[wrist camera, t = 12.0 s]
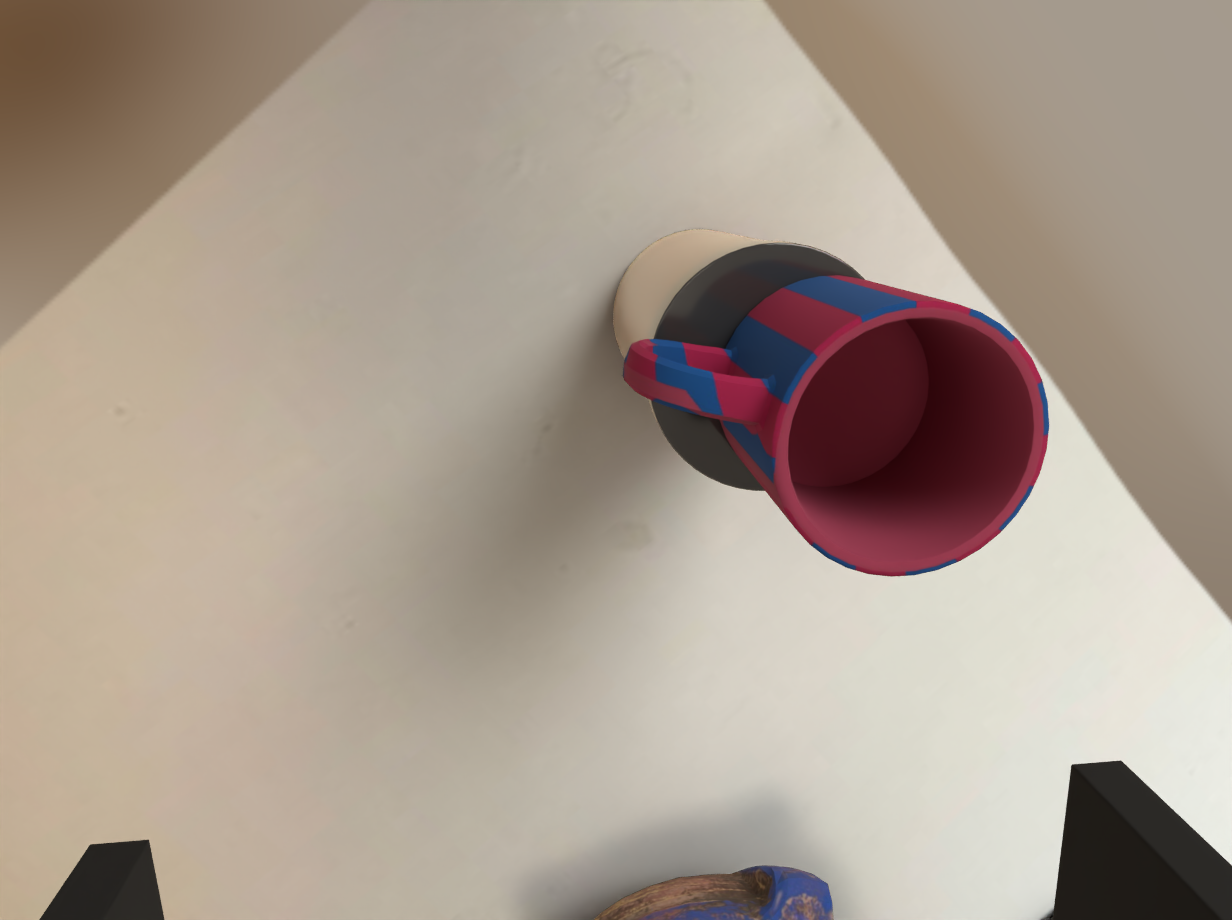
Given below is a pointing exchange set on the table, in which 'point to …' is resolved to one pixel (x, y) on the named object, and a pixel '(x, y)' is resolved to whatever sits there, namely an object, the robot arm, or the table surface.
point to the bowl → (730, 897)
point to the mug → (868, 417)
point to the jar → (707, 317)
